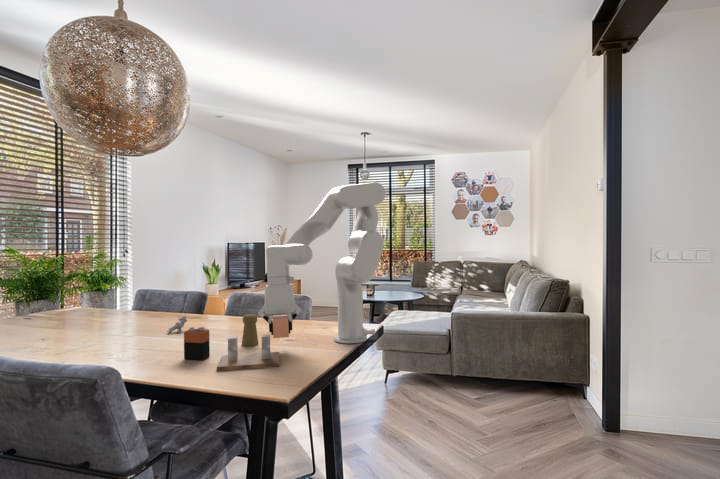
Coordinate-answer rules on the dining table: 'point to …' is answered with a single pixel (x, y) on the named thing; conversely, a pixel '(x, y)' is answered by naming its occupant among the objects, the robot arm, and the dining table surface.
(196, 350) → the battery
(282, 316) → the salmon pink foam cube
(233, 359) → the peg stand
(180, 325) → the grey animal figurine
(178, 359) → the dining table surface
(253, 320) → the cork
